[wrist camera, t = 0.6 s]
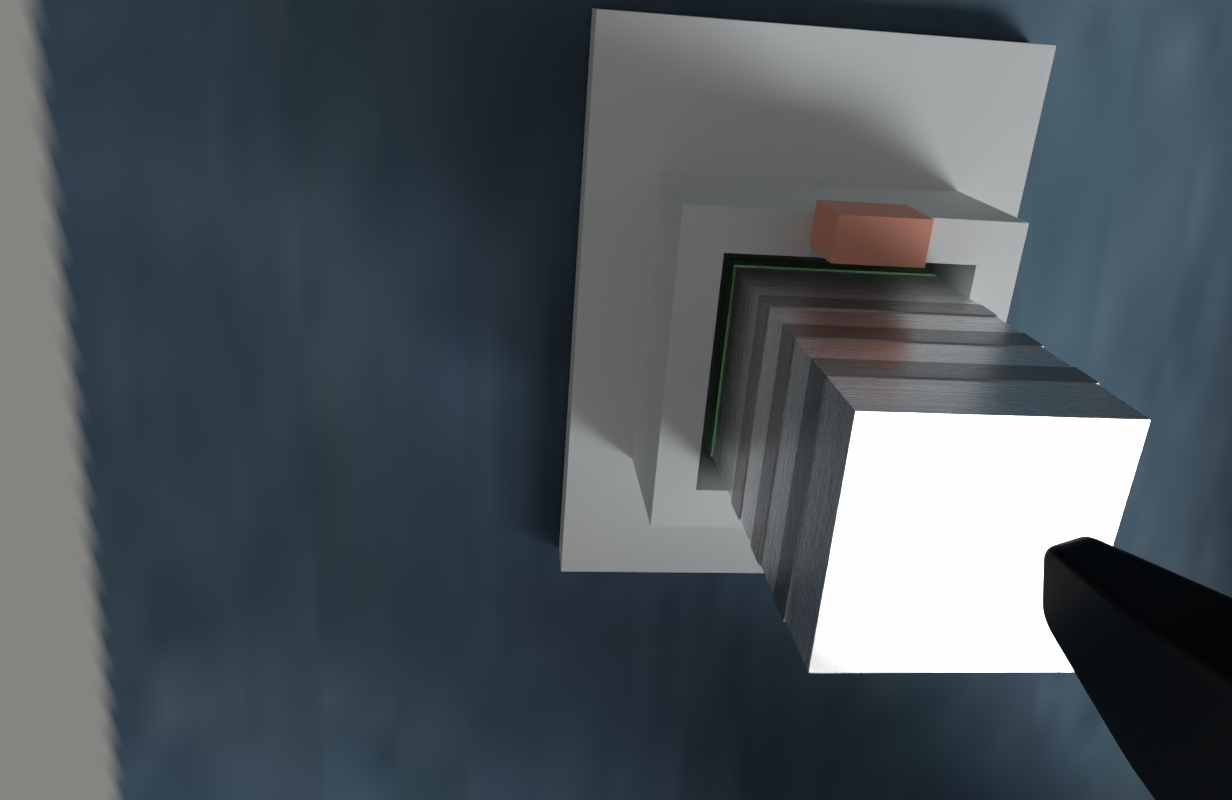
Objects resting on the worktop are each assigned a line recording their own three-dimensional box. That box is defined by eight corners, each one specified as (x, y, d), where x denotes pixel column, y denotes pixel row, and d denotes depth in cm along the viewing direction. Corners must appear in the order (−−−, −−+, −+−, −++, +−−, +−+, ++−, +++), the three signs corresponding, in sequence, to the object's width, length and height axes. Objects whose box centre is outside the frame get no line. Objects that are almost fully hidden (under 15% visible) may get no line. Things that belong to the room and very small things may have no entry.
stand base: (1031, 42, 20) (1194, 60, 16) (919, 552, 25) (1019, 687, 20) (592, 8, 19) (622, 15, 14) (558, 548, 24) (572, 690, 19)
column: (895, 247, 20) (1152, 418, 12) (863, 419, 22) (1075, 673, 14) (711, 237, 20) (853, 410, 12) (692, 413, 21) (807, 674, 13)
